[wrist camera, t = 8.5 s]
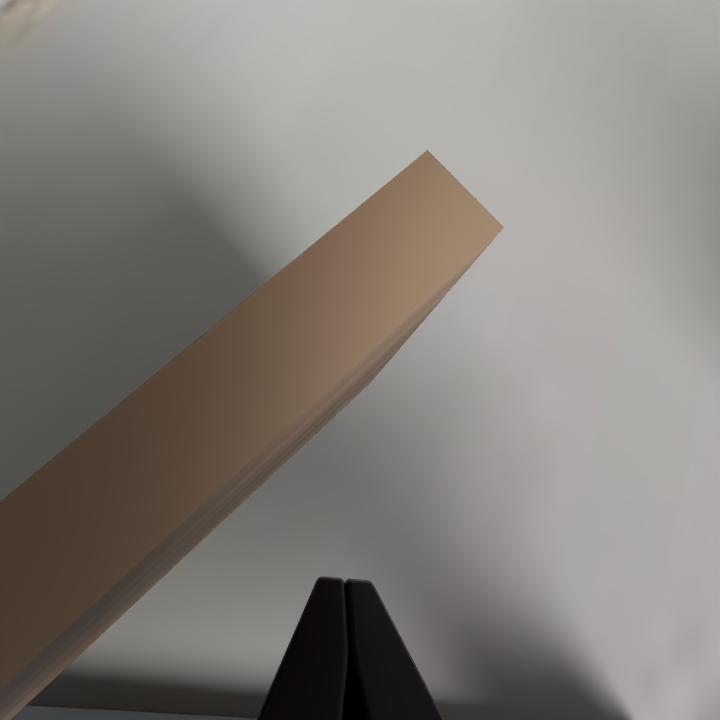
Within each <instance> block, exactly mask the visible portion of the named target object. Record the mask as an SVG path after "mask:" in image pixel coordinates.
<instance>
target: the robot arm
mask: <svg viewBox="0 0 720 720" xmlns="http://www.w3.org/2000/svg"><path fill="white" fill-rule="evenodd" d="M256 720H444V718H443V716H442V715H441V713H440V711H439V709H438V707H437V705H436V703H435V701H434V699H433V697H432V695H431V694H430V692H429V690H428V688H427V686H426V684H425V682H424V680H423V678H422V676H421V674H420V673H419V671H418V669H417V667H416V665H415V663H414V661H413V659H412V657H411V655H410V653H409V652H408V650H407V648H406V646H405V644H404V642H403V640H402V638H401V636H400V634H399V632H398V631H397V629H396V627H395V625H394V623H393V621H392V619H391V617H390V615H389V613H388V611H387V610H386V608H385V606H384V604H383V602H382V600H381V598H380V596H379V594H378V592H377V590H376V589H375V587H374V585H373V584H372V583H371V582H370V581H368V580H359V579H347V580H346V581H345V582H344V580H343V579H341V578H335V577H324V576H321V577H319V578H318V579H317V581H316V583H315V585H314V588H313V590H312V592H311V595H310V597H309V599H308V602H307V604H306V606H305V608H304V611H303V613H302V615H301V618H300V620H299V622H298V625H297V627H296V629H295V631H294V634H293V636H292V638H291V641H290V643H289V645H288V648H287V650H286V652H285V655H284V657H283V659H282V661H281V664H280V666H279V668H278V671H277V673H276V675H275V678H274V680H273V682H272V684H271V687H270V689H269V691H268V694H267V696H266V698H265V701H264V703H263V705H262V708H261V710H260V712H259V714H258V717H257V719H256Z"/></svg>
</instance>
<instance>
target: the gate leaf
mask: <svg viewBox="0 0 720 720" xmlns="http://www.w3.org/2000/svg"><path fill="white" fill-rule="evenodd" d="M503 228H504V227H503V226H502V225H501V224H500V223H499V222H498V221H497V220H496V219H495V218H494V217H493V216H492V215H491V214H490V213H489V212H488V211H487V210H486V209H485V208H484V207H483V206H482V205H481V204H480V203H479V202H478V201H477V200H476V199H475V198H474V197H473V196H472V195H471V194H470V193H469V192H468V191H467V190H466V189H465V188H464V187H463V186H462V185H461V184H460V183H459V182H458V180H457V179H456V178H455V177H454V176H453V175H452V174H451V173H450V172H449V171H448V170H447V169H446V168H445V167H444V166H443V165H442V164H441V163H440V162H439V161H438V160H437V159H436V158H435V157H434V156H433V155H432V154H431V153H430V152H429V151H428V150H427V151H426V152H425V153H423V154H422V155H421V156H420V157H418V158H417V159H416V160H415V161H414V162H412V163H411V164H410V165H409V166H408V167H406V168H405V169H404V170H403V171H401V172H400V173H399V174H398V175H397V176H395V177H394V178H393V179H392V180H391V181H389V182H388V183H387V184H386V185H384V186H383V187H382V188H381V189H380V190H378V191H377V192H376V193H375V194H374V195H372V196H371V197H370V198H369V199H367V200H366V201H365V202H364V203H363V204H361V205H360V206H359V207H358V208H357V209H355V210H354V211H353V212H352V213H351V214H349V215H348V216H347V217H346V218H344V219H343V220H342V221H341V222H340V223H338V224H337V225H336V226H335V227H334V228H332V229H331V230H330V231H329V232H327V233H326V234H325V235H324V236H323V237H321V238H320V239H319V240H318V241H317V242H315V243H314V244H313V245H312V246H310V247H309V248H308V249H307V250H306V251H304V252H303V253H302V254H301V255H300V256H298V257H297V258H296V259H295V260H293V261H292V262H291V263H290V264H289V265H287V266H286V267H285V268H284V269H283V270H281V271H280V272H279V273H278V274H276V275H275V276H274V277H273V278H272V279H270V280H269V281H268V282H267V283H266V284H264V285H263V286H262V287H261V288H260V289H258V290H257V291H256V292H255V293H253V294H252V295H251V296H250V297H249V298H247V299H246V300H245V301H244V302H243V303H241V304H240V305H239V306H238V307H236V308H235V309H234V310H233V311H232V312H230V313H229V314H228V315H227V316H226V317H224V318H223V319H222V320H221V321H219V322H218V323H217V324H216V325H215V326H213V327H212V328H211V329H210V330H209V331H207V332H206V333H205V334H204V335H202V336H201V337H200V338H199V339H198V340H196V341H195V342H194V343H193V344H192V345H190V346H189V347H188V348H187V349H185V350H184V351H183V352H182V353H181V354H179V355H178V356H177V357H176V358H175V359H173V360H172V361H171V362H170V363H169V364H167V365H166V366H165V367H164V368H162V369H161V370H160V371H159V372H158V373H156V374H155V375H154V376H153V377H152V378H150V379H149V380H148V381H147V382H145V383H144V384H143V385H142V386H141V387H139V388H138V389H137V390H136V391H135V392H133V393H132V394H131V395H130V396H128V397H127V398H126V399H125V400H124V401H122V402H121V403H120V404H119V405H118V406H116V407H115V408H114V409H113V410H111V411H110V412H109V413H108V414H107V415H105V416H104V417H103V418H102V419H101V420H99V421H98V422H97V423H96V424H94V425H93V426H92V427H91V428H90V429H88V430H87V431H86V432H85V433H84V434H82V435H81V436H80V437H79V438H78V439H76V440H75V441H74V442H73V443H71V444H70V445H69V446H68V447H67V448H65V449H64V450H63V451H62V452H61V453H59V454H58V455H57V456H56V457H54V458H53V459H52V460H51V461H50V462H48V463H47V464H46V465H45V466H44V467H42V468H41V469H40V470H39V471H37V472H36V473H35V474H34V475H33V476H31V477H30V478H29V479H28V480H27V481H25V482H24V483H23V484H22V485H20V486H19V487H18V488H17V489H16V490H14V491H13V492H12V493H11V494H10V495H8V496H7V497H6V498H5V499H4V500H2V501H1V502H0V720H11V719H12V718H13V717H14V716H15V715H16V714H17V713H18V712H19V711H20V710H22V709H23V708H24V707H25V706H26V705H27V704H28V703H29V702H30V701H31V700H32V699H33V698H34V697H35V696H36V695H38V694H39V693H40V692H41V691H42V690H43V689H44V688H45V687H46V686H47V685H48V684H49V683H50V682H51V681H52V680H54V679H55V678H56V677H57V676H58V675H59V674H60V673H61V672H62V671H63V670H64V669H65V668H66V667H67V666H68V665H70V664H71V663H72V662H73V661H74V660H75V659H76V658H77V657H78V656H79V655H80V654H81V653H82V652H83V651H84V650H86V649H87V648H88V647H89V646H90V645H91V644H92V643H93V642H94V641H95V640H96V639H97V638H98V637H99V636H100V635H102V634H103V633H104V632H105V631H106V630H107V629H108V628H109V627H110V626H111V625H112V624H113V623H114V622H115V621H117V620H118V619H119V618H120V617H121V616H122V615H123V614H124V613H125V612H126V611H127V610H128V609H129V608H130V607H131V606H133V605H134V604H135V603H136V602H137V601H138V600H139V599H140V598H141V597H142V596H143V595H144V594H145V593H146V592H147V591H149V590H150V589H151V588H152V587H153V586H154V585H155V584H156V583H157V582H158V581H159V580H160V579H161V578H162V577H163V576H165V575H166V574H167V573H168V572H169V571H170V570H171V569H172V568H173V567H174V566H175V565H176V564H177V563H178V562H179V561H181V560H182V559H183V558H184V557H185V556H186V555H187V554H188V553H189V552H190V551H191V550H192V549H193V548H194V547H195V546H197V545H198V544H199V543H200V542H201V541H202V540H203V539H204V538H205V537H206V536H207V535H208V534H209V533H210V532H211V531H213V530H214V529H215V528H216V527H217V526H218V525H219V524H220V523H221V522H222V521H223V520H224V519H225V518H226V517H227V516H229V515H230V514H231V513H232V512H233V511H234V510H235V509H236V508H237V507H238V506H239V505H240V504H241V503H242V502H243V501H245V500H246V499H247V498H248V497H249V496H250V495H251V494H252V493H253V492H254V491H255V490H256V489H257V488H258V487H259V486H261V485H262V484H263V483H264V482H265V481H266V480H267V479H268V478H269V477H270V476H271V475H272V474H273V473H274V472H276V471H277V470H278V469H279V468H280V467H281V466H282V465H283V464H284V463H285V462H286V461H287V460H288V459H289V458H290V457H292V456H293V455H294V454H295V453H296V452H297V451H298V450H299V449H300V448H301V447H302V446H303V445H304V444H305V443H306V442H308V441H309V440H310V439H311V438H312V437H313V436H314V435H315V434H316V433H317V432H318V431H319V430H320V429H321V428H322V427H324V426H325V425H326V424H327V423H328V422H329V421H330V420H331V419H332V418H333V417H334V416H335V415H336V414H337V413H338V412H340V411H341V410H342V409H343V408H344V407H345V406H346V405H347V404H348V403H349V402H350V401H351V400H352V399H353V398H354V397H356V396H357V395H358V394H359V393H360V392H361V391H362V390H363V389H364V388H365V387H366V386H367V385H368V384H369V383H370V382H371V381H372V380H373V379H374V378H375V376H376V375H377V374H378V373H379V372H380V371H381V370H382V368H383V367H384V366H385V365H386V364H387V363H388V361H389V360H390V359H391V358H392V357H393V356H394V354H395V353H396V352H397V351H398V350H399V349H400V347H401V346H402V345H403V344H404V343H405V342H406V340H407V339H408V338H409V337H410V336H411V335H412V334H413V332H414V331H415V330H416V329H417V328H418V327H419V325H420V324H421V323H422V322H423V321H424V320H425V318H426V317H427V316H428V315H429V314H430V313H431V311H432V310H433V309H434V308H435V307H436V306H437V304H438V303H439V302H440V301H441V300H442V299H443V298H444V296H445V295H446V294H447V293H448V292H449V291H450V289H451V288H452V287H453V286H454V285H455V284H456V282H457V281H458V280H459V279H460V278H461V277H462V275H463V274H464V273H465V272H466V271H467V270H468V268H469V267H470V266H471V265H472V264H473V263H474V262H475V260H476V259H477V258H478V257H479V256H480V255H481V253H482V252H483V251H484V250H485V249H486V248H487V246H488V245H489V244H490V243H491V242H492V241H493V239H494V238H495V237H496V236H497V235H498V234H499V232H500V231H501V230H502V229H503Z"/></svg>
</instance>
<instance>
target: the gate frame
mask: <svg viewBox="0 0 720 720" xmlns="http://www.w3.org/2000/svg"><path fill="white" fill-rule="evenodd" d="M256 719H257V718H243V717H225V716H207V715H190V714H172V713H154V712H137V711H119V710H101V709H83V708H66V707H48V706H30V705H26V706H25V707H24V708H23V709H22V710H20V711H19V712H18V713H17V714H16V715H15V716H14V717H13V718H12V719H11V720H256Z"/></svg>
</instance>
